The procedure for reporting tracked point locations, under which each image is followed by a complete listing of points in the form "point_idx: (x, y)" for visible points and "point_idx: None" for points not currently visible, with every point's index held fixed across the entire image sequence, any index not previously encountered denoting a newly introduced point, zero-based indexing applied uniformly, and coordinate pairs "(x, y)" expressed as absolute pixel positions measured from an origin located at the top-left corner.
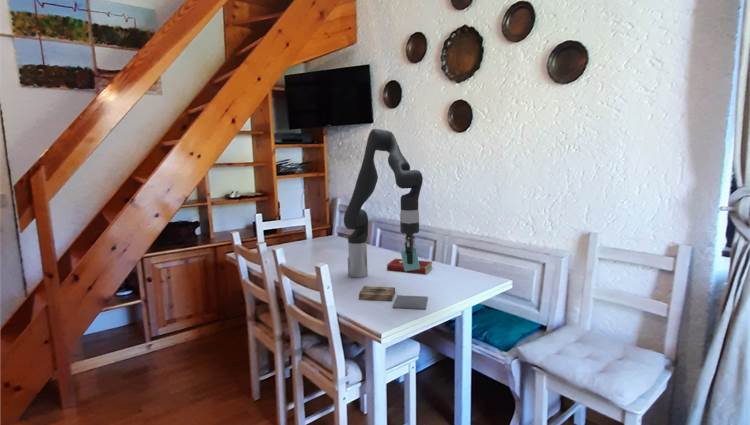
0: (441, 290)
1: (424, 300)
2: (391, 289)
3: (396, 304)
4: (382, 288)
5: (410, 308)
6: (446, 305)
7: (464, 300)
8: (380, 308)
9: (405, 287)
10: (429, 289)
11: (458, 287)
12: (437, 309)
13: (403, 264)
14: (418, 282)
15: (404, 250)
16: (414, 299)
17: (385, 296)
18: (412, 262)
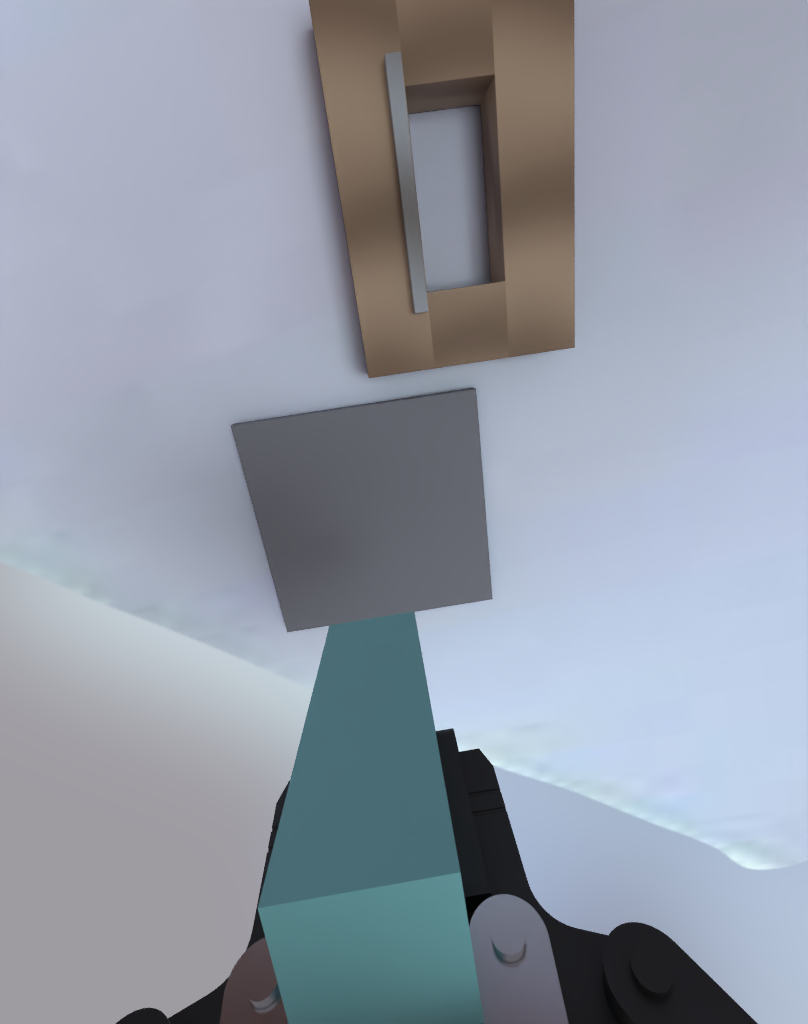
0: (638, 637)
1: (416, 596)
2: (513, 330)
3: (283, 441)
4: (525, 228)
5: (265, 544)
6: None
7: None
8: (189, 331)
9: (687, 393)
10: (652, 567)
11: (696, 707)
12: None
13: (316, 679)
14: (804, 461)
15: (413, 965)
16: (418, 534)
17: (359, 319)
18: None
